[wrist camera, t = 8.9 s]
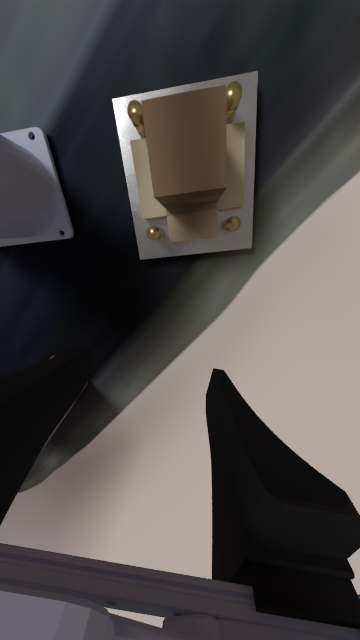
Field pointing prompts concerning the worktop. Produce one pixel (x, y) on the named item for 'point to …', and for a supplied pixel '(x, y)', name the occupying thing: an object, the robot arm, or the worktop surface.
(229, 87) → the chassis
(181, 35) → the worktop surface
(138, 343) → the worktop surface
